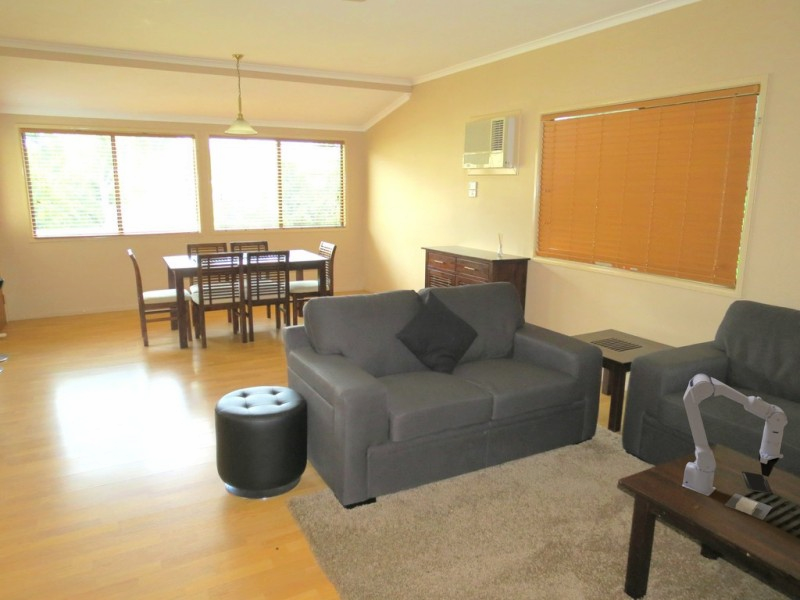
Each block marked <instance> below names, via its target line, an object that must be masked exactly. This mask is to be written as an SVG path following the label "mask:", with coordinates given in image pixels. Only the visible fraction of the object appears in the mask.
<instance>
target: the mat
mask: <svg viewBox="0 0 800 600" xmlns="http://www.w3.org/2000/svg"><path fill="white" fill-rule="evenodd" d="M742 497H744V498H746V499H749V500H752V501H754V502H757V503H758V506H757V508H756V510H755V511H754V512H753V514H752V515H750V516H751V517H754V518H757V519H759V520H762V521H763V520H764V519H765V518H766V516H767V515H768V514H769V512H770V511H771V509H773V506H770V505H768V504H765V503H763V502H760V501H759V500H758V501H757V500H755V499H752V498H749V497H746V496H744V495H741V494H738V493H737V492H736V493H734V494H733V495H732V496H731V497H730V498H729V500H727V501H726V502H725V504H724V506H726V507H728V508H731V509H734V510H736V511H738V512H742V511H739V510H737V509H735V508H736V504H737V503H738V501H739V500H740V499H741V498H742ZM742 513H744V512H742ZM744 514H746V515H748V514H747V513H744Z"/></svg>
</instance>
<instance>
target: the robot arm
mask: <svg viewBox="0 0 800 600" xmlns="http://www.w3.org/2000/svg"><path fill="white" fill-rule="evenodd" d="M712 395H713V397H718V396H724V397H725V398H727V399H730V400H732V401H734V402H736V403H739V404H741V405H743V408H744V410H745V411H748V413H751V414H752V415H754V416H757V417H759V418H761V419H763V420H765V424H764V427H763V432H762V438H761V445H760V449H759V455H758V461H759V463H760V468H761V469H760V470H761V475H763V476H764V477H767V478H769V476H770V475H771V474H772V471H773V469H774V467H775V465H776V464H777V463H778V462H779V461H780V459H783V458H784V454H782V453H780V451H781V447H782V446H781V445H782V442H783V436H784V428H785V426H787V424H788V417H787V415H786V413H785V412H784V410H783V409H782V408H781V407H779V406H778V405H775V404H774V403H773V404H770V403H769V402H766V401H764V400H763V399H762V397H760V396H757V397H756V396H754V395H751V396H746V394H743V393H742V392H740V391H738V390H736V389H734V388H733V387H731V386H729V385H727V384H725V383H724V382H722V381H720V380H718V379H716V378H714V377H712V376H710V377H709V375H707V374H705V373H697V374H696V375H694V376H693V377H692V378H691V379H690V380H689V382H688V386H687V388H686V390H685V393H684V395H683V403H684V408H685V412H686V416H687V420H688V423H689V424H688V425H689V426H690V430H691V435H692V438H693V443H694V447H695V450H694V456H695V460H694V462H691V461H689V462H687V464H686V465H685V468H684V474H683V481H682V485H681V486H682V488H686V489H688V490H692V491H694V492H697V493H699V494H702V495H704V496H707V497H710V495H712V493H713V492H714V491H715V490H716V489H717V488H716V487H714V486H713V485H714V478H715V471H716V468H717V461H716V459H715V456H714V455H715V454H714V451H713V449H711V447H710V445H709V441H708V438H707V434H706V431H705V426H704V422H703V418H702V415H701V411H700V408H699V404H700V403H701V402H702V401H703V400H705V399H707V398H709V397H711V396H712Z"/></svg>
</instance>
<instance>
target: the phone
mask: <svg viewBox="0 0 800 600" xmlns="http://www.w3.org/2000/svg"><path fill="white" fill-rule="evenodd" d="M741 477H742V478H743V480H744V482H745V485H746V488H747V490H748V491H751V492H752V491H753V492H757V493H763V494H768V495H771V494H772V492H773V491H772V490H771V488H770V486H769V483H768V482H767V480H766V476H764V475H762V474H760V473H754V472H749V471H743V470H742V471H741Z"/></svg>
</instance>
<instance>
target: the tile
mask: <svg viewBox="0 0 800 600" xmlns="http://www.w3.org/2000/svg"><path fill="white" fill-rule="evenodd" d="M744 497H745V496H744ZM744 497H742V498H741V499H740V500H739V501H738V503H737V504H736V508H735V509H734V510H736V509H737V510H736V511H738V510H739V511H738V512H741V511H742V513H743V512H744V514H746V513H747V514H746V515H749V516H751V515H752V514H753V512H754V511H755V510H756V508H757V506H758V503H757V502H754V501H752V500H753V499H752V500H749V499H746V498H744Z"/></svg>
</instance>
